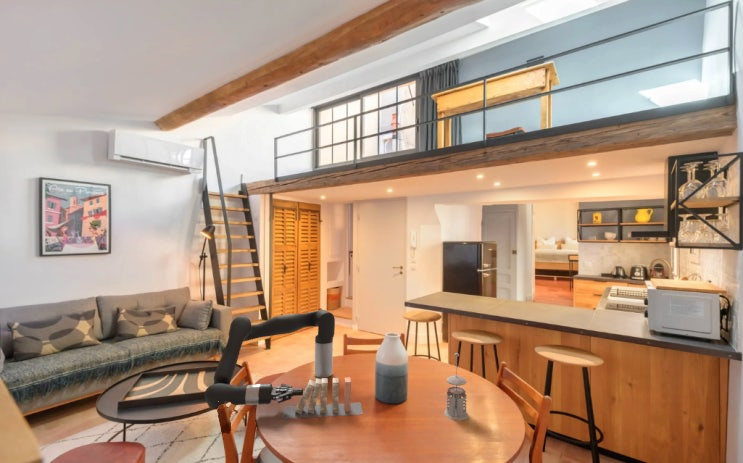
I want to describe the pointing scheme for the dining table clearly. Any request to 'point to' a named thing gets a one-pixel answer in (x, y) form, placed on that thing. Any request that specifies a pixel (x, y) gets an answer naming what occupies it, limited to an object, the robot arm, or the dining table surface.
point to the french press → (456, 398)
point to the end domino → (347, 394)
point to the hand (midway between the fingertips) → (303, 391)
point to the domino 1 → (305, 396)
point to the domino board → (290, 413)
